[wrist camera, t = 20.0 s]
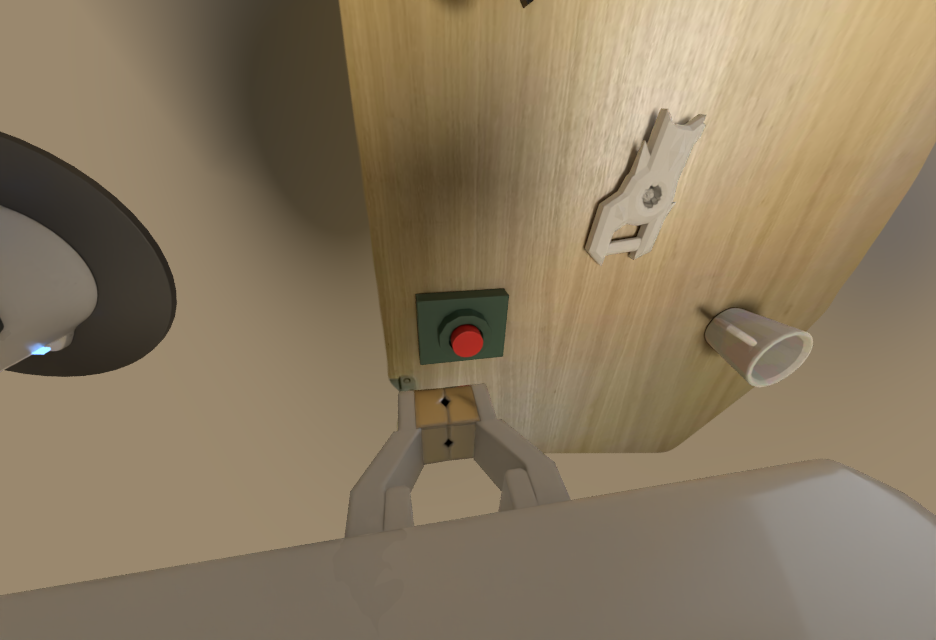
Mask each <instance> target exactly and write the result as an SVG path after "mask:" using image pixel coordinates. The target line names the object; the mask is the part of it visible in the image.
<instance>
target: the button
mask: <svg viewBox="0 0 936 640" xmlns="http://www.w3.org/2000/svg"><path fill="white" fill-rule="evenodd" d="M451 344H452V348H453V351H454V352H455V353H456V354H457V355H459V356H461V357H471V356H474V355H475V354H477V353H478V352H479V351H480V350H481V348H482V346H483V339H482V336H481V334H480V332H479V330H478V329H477V328H476V327H475V326H473V325H461V326H459V327H457V328H456V329H455V330H454V331H453V332H452V334H451Z"/></svg>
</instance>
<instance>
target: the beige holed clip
mask: <svg viewBox="0 0 936 640" xmlns="http://www.w3.org/2000/svg"><path fill="white" fill-rule="evenodd" d="M705 117H706V115H702V114H699V115H697V116H696V117H694V118H693V119H692V120H690V121H689V122H687V123H686V124H684V125H679V124H674V123H673V120H672V118H671V115H670V113H669V110H668V109H662V108H661V110H660V112H659V114H658V117H657V119H656V122H655V124H654V127H653V130H652V133H651V135H650V138H649V141H648V144H646V141H645V140H643V142H642V145H641V147H640V149H639V152H638V154H637V156H636V159H635V161H634V164H633V166H632V168H631V171H630V173H629V174H628V175H627V176H626V177H625V179H624V181H623V183H622V184H621V186H620V188H619V190H618V191H617V192H616V193H614V194H613V195H612V196H610V197H609V198H607V199H606V200H604V201H603V202H601V203H600V204H599V206H598V209H597V212H596V216H595V219H594V222H593V225H592V228H591V231H590V234H589V237H588V241H587V244H586V247H585V250H586V251H587V252H588V253H589V254H590V256H591V257H592V258H593V259H594V260H595V261H596V262H597V264H599V265H600V266H602V263H603V261H604V258H605V256H606V255H612V254H618V253H624V252H630V255H629V257H630V258H631V259H633V260H634V259H636V258H638V257H640V256H642V255H644V254H646V253H648V252H650V251H651V250H652V247H653V245H654V243H655V241H656V238H657V236H658V234H659V231H660V229H661V227H662V225H663V222H664V220H665V218H666V217H667V215H668V214H669V212H670V211H671V209H672V208H673V206H674V205H675V203H676V202H673V199H674V196H675V192H676V187H677V183H678V180H679V178H680V175H681V173H682V171H683V168H684V167H685V164H686V162H687V160H688V157H689V155H690V153H691V150H692V148H693V146H694V144H695V143H696V142H697V141H698V139H699V138H700V137H701V135H702V132H703V130H704V128H705V126H706V125H705V124H704V123H703V122H704V120H705ZM650 186H651V187H650ZM649 187H650V188H649ZM672 202H673V203H672ZM625 224H629V225H635V226H639V225H641V227H640V230H639V232H638V235H637V237H634V238H629V239H623V240H617V241H611V238H612V236H613V233H614V232H615V231H617V230H618V229H620V228H621V227H622V226H624V225H625ZM610 241H611V242H610Z"/></svg>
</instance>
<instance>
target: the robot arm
mask: <svg viewBox="0 0 936 640" xmlns="http://www.w3.org/2000/svg"><path fill="white" fill-rule="evenodd" d="M97 296H98V294H97V286H96V282H95V280H94V277H93V275H92V273H91V271H90V269H89V267H88V266H87V264H86V263H85V262H84V260H83V259H82V258H81V257H80V255H79V254H78V253H77V252H76V251H75V250H74V249H73V248H72V247H71V246H70V245H69V244H68V243H67V242H65V241H64V240H63V239H62V238H61V237H59V236H58V235H57V234H55V233H54V232H53V231H51V230H50V229H48V228H47V227H45V226H43V225H42V224H40V223H38V222H36V221H35V220H33V219H31V218H29V217H27V216H25V215H23V214H20V213H18V212H16V211H13V210H11V209H8V208H6V207H3V206H1V205H0V372H1V371H3V370H5V369H7V368H9V367H10V366H12V365H14V364H16V363H18V362H20V361H21V360H23V359H25V358H27V357H29V356H31V355H32V354H45V353H47V352H48V351H59V350H61V349H63V348H65V347H67V346H69V345H70V344H71V342H72V339H73V336H74V331H75V328H76V327H77V326H78V325H79V324H81V323H82V322H83V321H84V320H86V319H87V318H88V317H89V316H90V315H91V314H92V312H93V310H94V308H95V306H96V303H97ZM414 397H415V398H414ZM467 458H474V460H475V461H476V462H477V463H478V465H479V466H480V467H481V468H482V469H483V470H484V472H485V473H486V474H487V475H488V476H489V477H490V479H491V480H492V481H493V482H494V483H495V484H496V486H497V487H498V488H499V489H500V490H501V491H502V494H501V500H500V506H499V512H496V513H490V514H485V515H479V516H473V517H467V518H461V519H455V520H449V521H443V522H437V523H431V524H426V525H419V526H414V522H413V512H412V504H411V495H410V493H411V491H412V489H413V486H414V485H415V482H416V481H417V479H418V476H419V475H420V472H421V471H422V469H423V467H424V465H425V464H431V463H436V462H443V461H449V460H458V459H467ZM0 640H936V515H934V514H933V513H931V512H930V511H929V510H927V509H926V508H925V507H923V506H922V505H921V504H919V503H918V502H917V501H915V500H914V499H912V498H911V497H909V496H908V495H906V494H905V493H903V492H901V491H899V490H897V489H895V488H893V487H891V486H889V485H887V484H885V483H883V482H881V481H879V480H877V479H875V478H872V477H870V476H868V475H866V474H864V473H862V472H860V471H858V470H855V469H853V468H851V467H849V466H846V465H844V464H841V463H839V462H836V461H834V460H830V459H813V460H807V461H801V462H795V463H789V464H783V465H777V466H771V467H765V468H760V469H753V470H747V471H741V472H735V473H730V474H723V475H717V476H711V477H706V478H699V479H694V480H688V481H682V482H676V483H670V484H664V485H658V486H652V487H646V488H640V489H634V490H628V491H622V492H616V493H610V494H604V495H598V496H592V497H586V498H580V499H574V500H570V497H569V495H568V492H567V490H566V488H565V485H564V483H563V481H562V478H561V476H560V474H559V471H558V469H557V467H556V465H555V462H554V461H552V460H551V459H550V458H549V457H547V456H546V455H545V454H544V453H543V452H541V451H540V450H539V449H538V448H536V447H535V446H534V445H533V444H531V443H530V442H529V441H528V440H527V439H525V438H524V437H523V436H522V435H520V434H519V433H518V432H517V431H515V430H514V429H513V428H512V427H511V426H509V425H508V424H507V423H506V422H504V421H503V420H502V419H497V417H496V414H495V411H494V408H493V405H492V402H491V398H490V395H489V392H488V389H487V386H486V384H485V383H482V384H473V385H464V386H455V387H446V388H438V389H425V390H414V391H403V392H399V394H398V431H396V432H393V434H392V435H391V436H390V438H389V439H388V440H387V442H386V443H385V445H384V446H383V447H382V449H381V450H380V452H379V453H378V454H377V456H376V457H375V458H374V460H373V461H372V462H371V464H370V465H369V467H368V468H367V470H366V471H365V472H364V474H363V475H362V476H361V478H360V479H359V481H358V482H357V483H356V485H355V486H354V487H353V489H352V490H351V491H350V500H349V507H348V515H347V522H346V530H345V538H342V539H335V540H329V541H324V542H317V543H312V544H305V545H300V546H294V547H288V548H282V549H276V550H270V551H264V552H258V553H252V554H246V555H240V556H234V557H228V558H222V559H216V560H210V561H204V562H198V563H192V564H186V565H180V566H174V567H168V568H162V569H156V570H150V571H144V572H138V573H132V574H126V575H120V576H114V577H108V578H102V579H96V580H90V581H84V582H78V583H72V584H66V585H60V586H54V587H48V588H42V589H36V590H30V591H24V592H18V593H12V594H6V595H0Z"/></svg>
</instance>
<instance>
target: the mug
mask: <svg viewBox="0 0 936 640" xmlns="http://www.w3.org/2000/svg"><path fill="white" fill-rule="evenodd" d="M705 339H706V341H707V343H708V344H709V345H710V346H711V347H712V348H713V349H714V350H715V351H717V352H718V353H719V354H720V355H721V356H722V357H723V358H724V359H725V360H726V361H727V362H728V363H729V364H730V365H731V366H732V367H733V368H734V369H735V370H736V371H737V372H738V373H739V374H740V375H741V376H742V377H743V378H744V379H745V380H746V381H747V382H748V383H749V384H750V385H752V386H756V387H763V386H769V385H772V384H775V383H777V382H779V381H781V380H783V379H784V378H786V377H787V376H789V375H790V374H791V373H793V372H794V371H795V370H796V369H797V368H798V367H799V366H800V365H801V364H802V363H803V362H804V361H805V360H806V358H807V357H808V356H809V354H810V352H811V349H812V347H813V338H812V337H811V335H810V334H809V333H807V332H805V331H802V330H800V329H797V328H794V327H791V326H788V325H785V324H783V323H780V322H777V321H774V320H771V319H768V318H766V317H763V316H760V315H757V314H754V313H752V312H749V311H746V310H743V309H740V308H732V309H728V310H726V311H724V312H722V313H720V314H719V315H718V316H716V317H715V318H714V319H713V320H712V321H711V323H710V324H709V325H708V327H707V329H706V332H705Z"/></svg>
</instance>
